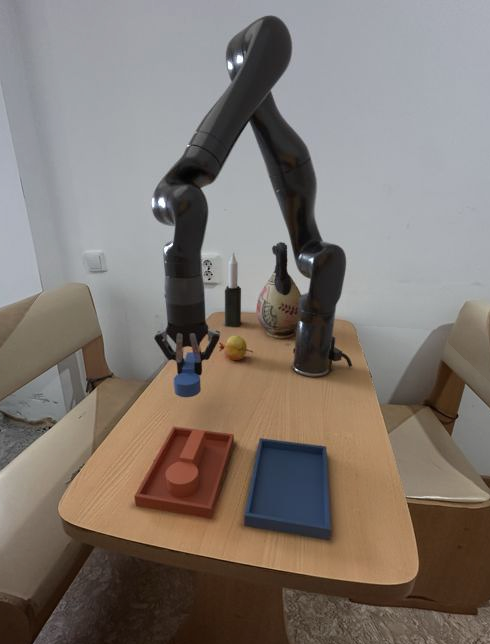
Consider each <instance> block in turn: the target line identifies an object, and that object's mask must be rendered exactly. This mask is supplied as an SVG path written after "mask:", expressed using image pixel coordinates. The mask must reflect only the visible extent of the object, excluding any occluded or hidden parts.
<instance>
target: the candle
mask: <svg viewBox="0 0 490 644" xmlns="http://www.w3.org/2000/svg"><path fill="white" fill-rule="evenodd" d="M235 254H236V253H235V252H234V251H233V252H232V253H231V257H230V260H229V262H228V285H226V288H225V289H224V326H225V327H231V328H239V327H240V324H242V323H241V322H242V321H241V320H242V288H241V287H240V286H239V285H238V268H239V267H238V261H237V260H236V256H235Z"/></svg>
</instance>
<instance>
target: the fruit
mask: <svg viewBox="0 0 490 644" xmlns="http://www.w3.org/2000/svg"><path fill="white" fill-rule="evenodd" d="M218 342H219V341H218ZM219 345H220V346H219V347H218V348H219V352H221V351H223V352H224V356H225V357H226V358H227V359H229V360H231V361H240V360H241V359H243V358H244V357H245V355H246V353H247V352H250V353H251V354H253V353H254V351H253V350H251V349H250V350H249V349H247V342H246V340H245V339H244V338H243V337H241V336H240V335H232V336H230V337H228V338H227V340H226V342H225V343H222V342H219Z"/></svg>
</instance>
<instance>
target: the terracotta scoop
mask: <svg viewBox="0 0 490 644" xmlns="http://www.w3.org/2000/svg"><path fill="white" fill-rule="evenodd" d="M192 429H193V430H192V432H191V434H190V436H189V439H188V441H187V443H186V445H185V447H184V449H183V451H182V453H181V455H180V462H177V463H174V464H172V465H171V466H170V467H169V468H168V469H167V471H166V481H167V490H168V492H169V493H170V494H171V495H173V496H175V497H187V496H190V495H192V494H193V493H195V492H196V490H197V489H198V486H199V480H198V469H197V467H198V464H199V462H200V459H201V457H202V454H203V452H204V449H205V447H206V439H205V431H206V430H204V429H203V430H204V431H203V430H202V429H196V430H195V428H192Z"/></svg>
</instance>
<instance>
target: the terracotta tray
mask: <svg viewBox="0 0 490 644" xmlns="http://www.w3.org/2000/svg"><path fill="white" fill-rule="evenodd" d="M193 429H195V428H189V427H179V426H172V428H171V430H170V432H169V433H168V435H167V437H166V438H165V441H164V442H163V444H162V446H161V448H160V449H159V452H158V453H157V455H156V457H155V458H154V460H153V462H152V464H151V466H150V467H149V469H148V470H147V473H146V474H145V477H144V479H143V480H142V481H141V483H140V485H139V487H138V489H137V490H136V492H135V494H134V495H133V496H134V503H135V506H136V507H139V508H146V509H151V510H158V511H163V512H168V513H169V512H170V513H174V514H181V515H187V516H192V517H198V518H204V519H211V520H212V518H213V515H214V511H215V508H216V505H217V501H218V497H219V495H220V491H221V487H222V484H223V481H224V477H225V474H226V471H227V467H228V464H229V460H230V457H231V454H232V450H233V447H234V443H235V437H234V436H235V435H234V433H227V432H221V431H219V432H218V431H211V430H204V429H203V431H205V439H206V447H205V449H204V452H203V454H202V457H201V459H200V462H199V464H198V467H197V469H198V480H199V486H198V489H197V490H196V492H195V493H193V494H192V495H190V496H187V497H175V496H173V495H171V494H170V493H169V492H168V490H167V481H166V471H167V469H168V468H169V467H170V466H171V465H172V464H174V463H177V462H180V455H181V453H182V451H183V449H184V447H185V445H186V443H187V441H188V439H189V436H190V434H191V432H192V430H193ZM195 430H197V428H196V429H195Z"/></svg>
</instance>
